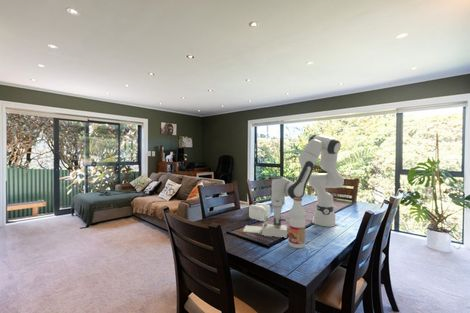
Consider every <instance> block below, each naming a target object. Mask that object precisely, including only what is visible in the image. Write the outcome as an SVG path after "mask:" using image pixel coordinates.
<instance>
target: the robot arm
mask: <svg viewBox="0 0 470 313" xmlns="http://www.w3.org/2000/svg"><path fill="white" fill-rule="evenodd" d="M340 149H341V141H340V140H339V139H337V138H333V137H331V136H330V137H329V136H327V135H320V134H312V135H311V136H310V137H309V139H308V142H307V143H306V145H305V146H304V147H303V148H302V151H301V153H300V155H299V157H298V163H299V165H300V166H301V167H300V168H301V170H300V172H299V174H298V177H297V179H296V180H295V182H294V181H292V180H290V179H287V178H286V177H284V176H282V175H281V176H275V177H273V178H272V180H271V198H270V202H271V205H272V208H273V219H274V218H275V219H276V223H279V219H280V216H281V215H282V208H283V206H284V205H285V203H286V201H285V200H286V196H288V197H289V198H291V199H292V200H293V198H294V197H299V198H302V199H303V197H304V195H305V194H306V187H307V184H309V186H310V187H312V189H314V190H315V193H316V197H317V204H316V209H315V212H312V213H313V217H312V220H311V223H312V224H314V225H318V226H321V227H335V226H338V225H339V224H338V222H337V221H336V213H335V212H334V196H333V194H332V193H330V192H328V191H326V188H327V189H329V188H330V189H331V188H332V189H338V188H342V187H343V186H344V184H345V183H344V182H345V180H344V177H343V175H342V174H340V172H338V169H337V160H338V152H339V151H340ZM319 157H320V161H319V166H320V168H321V169H322V170H323V171H325V173H321V172H319V173H318V172H315V173H313V170H314V167H315V165H316V162H317V160H318V159H319ZM281 217H282V216H281Z"/></svg>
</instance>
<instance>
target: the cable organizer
mask: <svg viewBox="0 0 470 313" xmlns="http://www.w3.org/2000/svg"><path fill="white" fill-rule="evenodd" d="M248 209H249V210H248V217H249V218H250V219H251V220H254V219H255V220H256V221H258V220H259V222H264V213H265V211H268V217H267V220H268V219H270V217H271V206H270V205H269V204H266V203H260V202H256V203H255V204H250V205H249V206H248Z"/></svg>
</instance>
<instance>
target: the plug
mask: <svg viewBox="0 0 470 313" xmlns="http://www.w3.org/2000/svg"><path fill="white" fill-rule="evenodd" d="M286 220H287V219H286V218H282V216H280V219H279V223H276V219H275V218H274V217H273V224H274V226H276V228H279V226H281V225H282V222H286Z"/></svg>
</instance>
